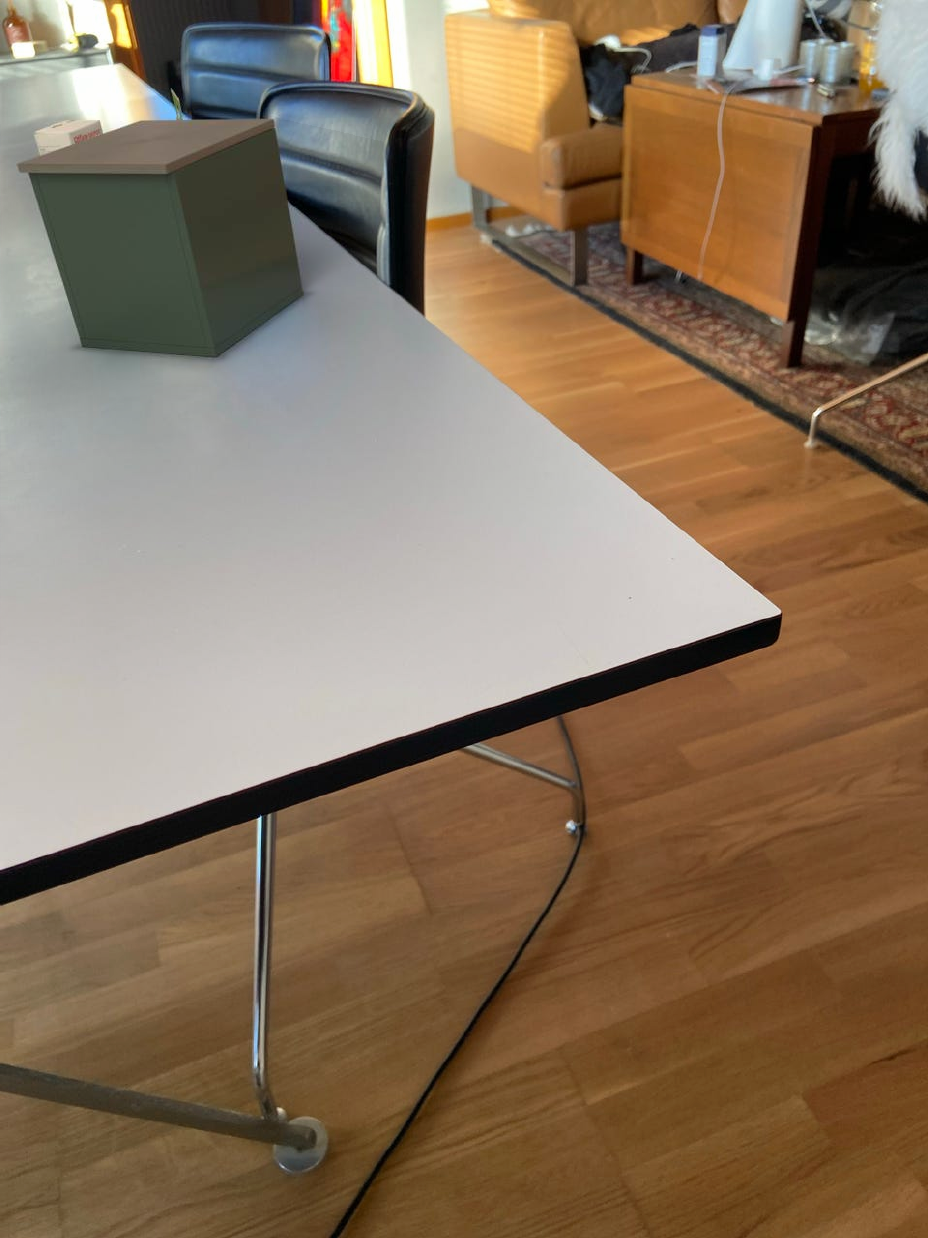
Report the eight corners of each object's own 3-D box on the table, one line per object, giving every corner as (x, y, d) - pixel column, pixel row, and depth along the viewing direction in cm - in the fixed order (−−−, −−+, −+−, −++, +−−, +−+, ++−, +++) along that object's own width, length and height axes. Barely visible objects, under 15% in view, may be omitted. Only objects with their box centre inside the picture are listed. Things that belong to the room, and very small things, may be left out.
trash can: (216, 357, 87) (173, 171, 78) (82, 346, 91) (26, 170, 82) (303, 294, 99) (275, 127, 90) (181, 287, 104) (142, 128, 95)
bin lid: (167, 174, 77) (164, 164, 77) (19, 172, 82) (16, 163, 81) (275, 126, 90) (273, 118, 89) (142, 128, 94) (140, 120, 94)
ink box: (96, 232, 125) (67, 131, 118) (61, 233, 125) (30, 132, 118) (126, 214, 131) (101, 116, 124) (93, 215, 132) (66, 118, 125)
